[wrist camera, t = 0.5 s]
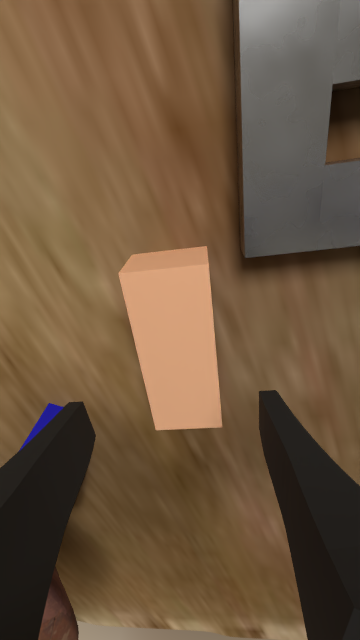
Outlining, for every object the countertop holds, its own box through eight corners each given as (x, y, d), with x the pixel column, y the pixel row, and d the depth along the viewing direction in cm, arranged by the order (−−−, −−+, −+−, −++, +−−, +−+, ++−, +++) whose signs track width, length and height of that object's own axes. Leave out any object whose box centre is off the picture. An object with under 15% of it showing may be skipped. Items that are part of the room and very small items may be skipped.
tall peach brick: (205, 235, 17) (208, 264, 12) (217, 369, 22) (222, 427, 17) (140, 243, 18) (118, 273, 13) (164, 372, 22) (155, 430, 18)
